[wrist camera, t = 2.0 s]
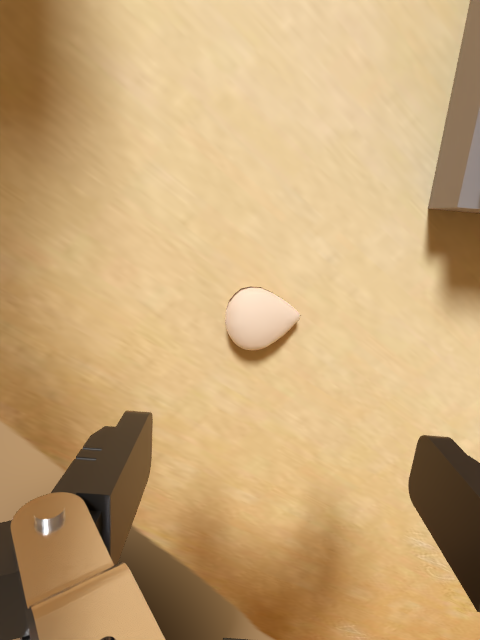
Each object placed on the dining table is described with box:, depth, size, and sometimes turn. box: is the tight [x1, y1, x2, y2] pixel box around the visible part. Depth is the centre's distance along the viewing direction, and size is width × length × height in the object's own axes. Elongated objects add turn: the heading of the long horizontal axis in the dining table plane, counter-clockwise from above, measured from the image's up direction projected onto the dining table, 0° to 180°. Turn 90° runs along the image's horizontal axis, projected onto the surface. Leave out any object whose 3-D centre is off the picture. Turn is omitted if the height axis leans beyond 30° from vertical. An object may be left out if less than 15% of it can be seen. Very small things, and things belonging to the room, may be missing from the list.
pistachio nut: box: [225, 287, 300, 350], centre depth 25 cm, size 4×5×2 cm
